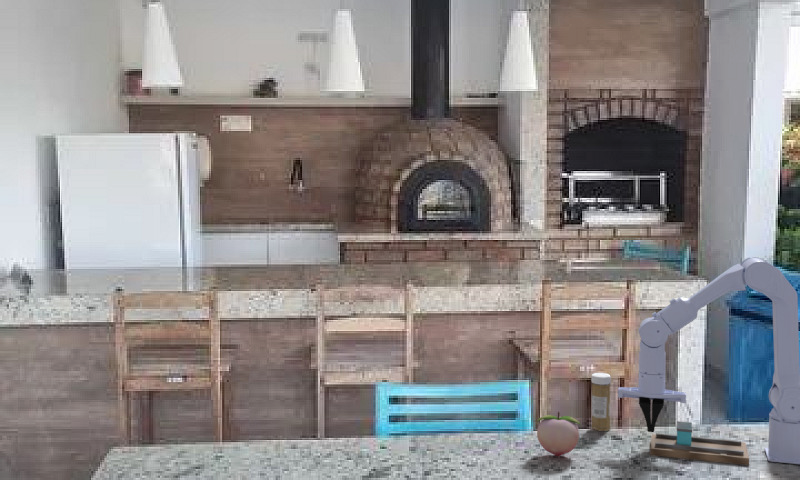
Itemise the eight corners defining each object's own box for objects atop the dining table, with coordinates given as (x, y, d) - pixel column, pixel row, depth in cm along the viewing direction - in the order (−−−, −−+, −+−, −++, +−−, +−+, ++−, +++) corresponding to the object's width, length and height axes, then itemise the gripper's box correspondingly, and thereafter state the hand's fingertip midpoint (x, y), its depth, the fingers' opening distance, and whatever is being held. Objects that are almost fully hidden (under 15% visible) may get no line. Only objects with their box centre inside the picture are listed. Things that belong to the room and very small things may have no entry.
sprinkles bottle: (613, 428, 192) (614, 374, 191) (603, 433, 189) (604, 378, 188) (597, 424, 196) (598, 371, 195) (587, 428, 193) (587, 374, 191)
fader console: (745, 449, 177) (745, 439, 177) (749, 465, 168) (749, 454, 168) (651, 440, 184) (651, 430, 184) (650, 455, 174) (650, 444, 174)
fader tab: (691, 439, 179) (691, 422, 178) (691, 447, 174) (692, 429, 173) (676, 438, 180) (676, 421, 179) (676, 446, 175) (676, 428, 174)
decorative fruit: (539, 463, 170) (540, 418, 169) (534, 450, 178) (534, 406, 178) (583, 463, 170) (584, 418, 169) (576, 450, 178) (576, 406, 177)
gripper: (686, 369, 179) (684, 428, 180) (619, 365, 184) (619, 422, 185) (686, 377, 172) (685, 438, 174) (617, 372, 177) (616, 431, 178)
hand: (650, 430), depth 179 cm, fingers closed
